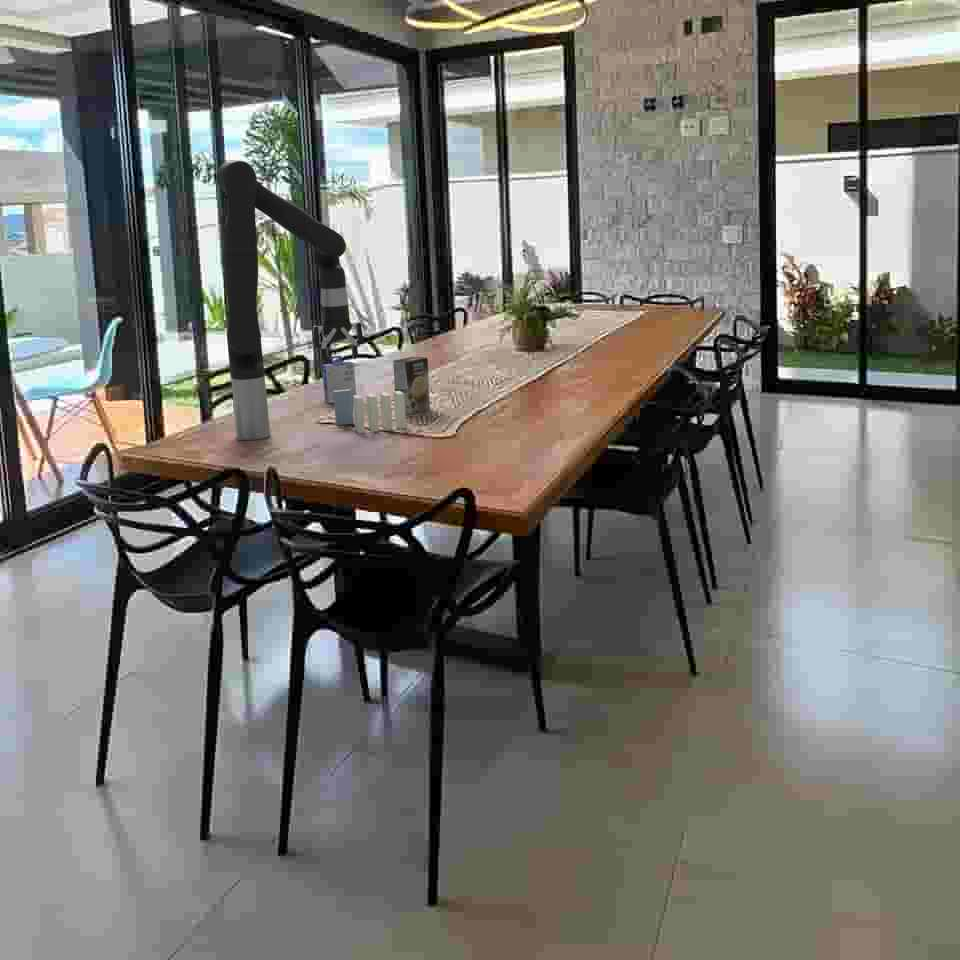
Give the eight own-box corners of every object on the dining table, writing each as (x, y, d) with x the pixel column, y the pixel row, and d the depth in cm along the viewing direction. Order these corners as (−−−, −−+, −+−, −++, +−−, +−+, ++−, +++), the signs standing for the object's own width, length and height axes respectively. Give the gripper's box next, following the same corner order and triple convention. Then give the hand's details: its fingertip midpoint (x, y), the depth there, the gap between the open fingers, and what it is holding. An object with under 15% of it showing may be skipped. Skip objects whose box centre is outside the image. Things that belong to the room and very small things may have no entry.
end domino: (353, 423, 323) (351, 390, 320) (337, 425, 322) (334, 391, 319) (352, 422, 325) (350, 389, 322) (335, 424, 323) (333, 390, 320)
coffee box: (410, 414, 332) (407, 362, 327) (395, 412, 336) (392, 360, 331) (430, 409, 339) (428, 357, 334) (415, 407, 343) (412, 356, 338)
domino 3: (386, 430, 312) (384, 395, 310) (382, 426, 317) (380, 392, 314) (392, 429, 313) (390, 395, 310) (388, 426, 318) (386, 392, 315)
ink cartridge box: (352, 397, 362) (349, 353, 358) (357, 400, 357) (354, 356, 354) (323, 401, 358) (320, 357, 354) (328, 403, 354) (325, 359, 350)
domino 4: (400, 428, 314) (397, 394, 311) (395, 425, 318) (393, 391, 316) (406, 428, 314) (404, 393, 311) (401, 424, 319) (399, 390, 316)
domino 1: (358, 433, 310) (356, 398, 307) (355, 429, 315) (352, 395, 312) (365, 432, 311) (362, 398, 308) (361, 429, 315) (358, 395, 313)
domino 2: (372, 431, 311) (370, 397, 309) (368, 428, 316) (366, 394, 313) (378, 431, 312) (376, 396, 309) (375, 427, 316) (372, 393, 314)
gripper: (312, 307, 308) (317, 364, 312) (362, 302, 312) (366, 359, 317) (308, 304, 315) (313, 360, 319) (356, 300, 319) (361, 355, 323)
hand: (339, 359), depth 318 cm, fingers open, 8 cm apart
